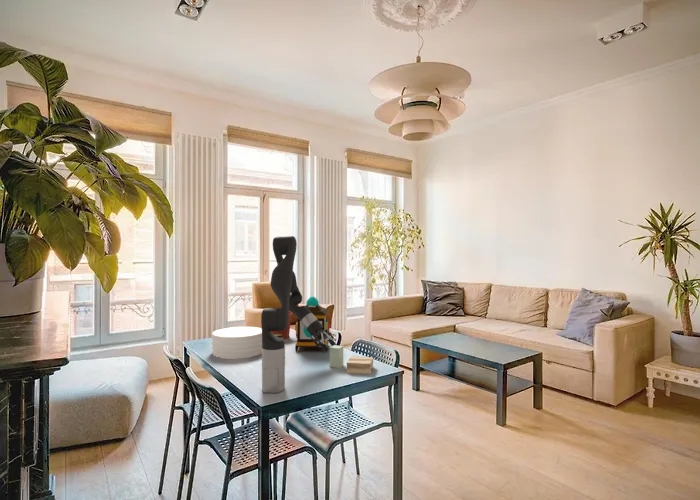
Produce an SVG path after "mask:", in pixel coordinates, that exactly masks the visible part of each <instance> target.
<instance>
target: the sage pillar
mask: <svg viewBox="0 0 700 500" xmlns="http://www.w3.org/2000/svg"><path fill="white" fill-rule="evenodd" d="M343 366H344V345H337V344H336V345H334V346H330V347H329V367H330V368H337V369H340V368H341V367H343Z"/></svg>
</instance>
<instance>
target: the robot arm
mask: <svg viewBox="0 0 700 500" xmlns="http://www.w3.org/2000/svg"><path fill="white" fill-rule="evenodd" d="M297 246H298V245H297V239H296V237H295V236H294V235H281V236H280V235H279V236H275V237H274V238H273V239H272V250H273V251H272V252H273V254H274V257H275V260H276V263H277V265H276V266H275V267H274V269H273V270H272V272H271V278H270V288H271V289H272V291H273V293H274V295H275V296H276V297H277V299H278V301H279V303H280V306H281V307H280V308H279V307H275V308H273V307H268V308H266V307H265V308H264V309H262V311H261V316H260V324H261V325H260V326H261V327H260V328H262V353H261V390H262V393H271V394H278V393H280V392H282V391H284V390H285V387H286V383H285V382H286V377H285V376H286V375H285V374H286V373H285V371H286V370H285V369H286V341H285V339H284V338H283V339H282V338H279V337H276V336H275V335H273V334H272V333H271V331H284V330H286V329H287V326H288V320H289V311H290V312H292V315H294V316H295V317H296V316H297V317H296V319H297V318H298V319H299V320H300V321H301V323H302V324H303V326H304V327H305V329H306V330H307V331H308V332H309V334H310V335H311V336H312V337H311V339H312V340H313V341H314V343H315V344H316V346H317V347H316V348H321V349H322V350H323V352H324V351H325V352H324V353H328V352H330V347H332V346H334V345H337V343H336V342H335V340H334V339H335V338H334V335H333V334H332V333H331V332H330V330H329V331H328V330H327V329H326V330H325V331H324V330H323V329H322V328H323V326H322V324H321V323H320V322H319V321H318V319H317V318H316V317H315V316H314V315H313V314H312V313H311V312H310V310H309V309H308V308H307V307H306V305H300V304H301V303H302V302H303V296H302V293H301V291H300V289H299V286H298V283H297V282H298V281H297V277H296V273H295V272H294V264H295V263H294V262H295V259H296V258H295V257H296V253H297ZM299 305H300V306H299ZM324 341H328V344H330V347H328V345H327V346H326V345H325V344H324ZM317 342H318V343H317ZM321 342H322V343H321ZM319 346H320V347H319Z"/></svg>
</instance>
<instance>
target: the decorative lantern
mask: <svg viewBox="0 0 700 500" xmlns="http://www.w3.org/2000/svg"><path fill="white" fill-rule="evenodd" d="M305 306H306V307H307V308H308V309H309V310H310V312H311V313H312V314H313V315H314V316H315V317H316V318H317V319H318V321H319V322H320V323H321V324H322V326H323V328H322V329H323V330H324V331H325V330H326V329H327V330H328V331H329V332H330V323H329V322H328V321H327V315H328V312H329V310H328V309H327V308H326V307H323V306H322V305H321V304H320V303H319V300H318V298H316V297H315V296H310V297H309V298H307V300H306V304H305ZM295 317H296V319H297V322H296V323H295V326H294V328H295V329H294V331H295V333H296V332H297V333H298V340H297V341H296V343H295V346H294V347H295V350H294V351H295V352H299V348H321V347H320V346H319V347H317V346H316V344H315V343H314V341H313V340H312V339H311V337H312V336H311V335H310V334H309V332H308V331H307V330H306V329H305V327H304V326H303V324H302V323H301V321H300V320H299V319H298V318H297V316H296V315H295ZM317 343H318V342H317ZM321 343H322V342H321ZM324 344H325V345H326V346H327V347H328V345H329V342H328V341H324ZM323 352H324V353H326V352H325V351H324V350H323Z"/></svg>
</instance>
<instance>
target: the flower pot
mask: <svg viewBox="0 0 700 500" xmlns="http://www.w3.org/2000/svg"><path fill="white" fill-rule="evenodd" d="M292 316H293V313H292V312H290V311H289V320H288V326H287V329H286V330H284V331H271V333H272V334H273V335H274V334H281V335H282V339H283V340H286V339H288V338H290V331H291V330H290V329H291V320H292Z"/></svg>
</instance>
